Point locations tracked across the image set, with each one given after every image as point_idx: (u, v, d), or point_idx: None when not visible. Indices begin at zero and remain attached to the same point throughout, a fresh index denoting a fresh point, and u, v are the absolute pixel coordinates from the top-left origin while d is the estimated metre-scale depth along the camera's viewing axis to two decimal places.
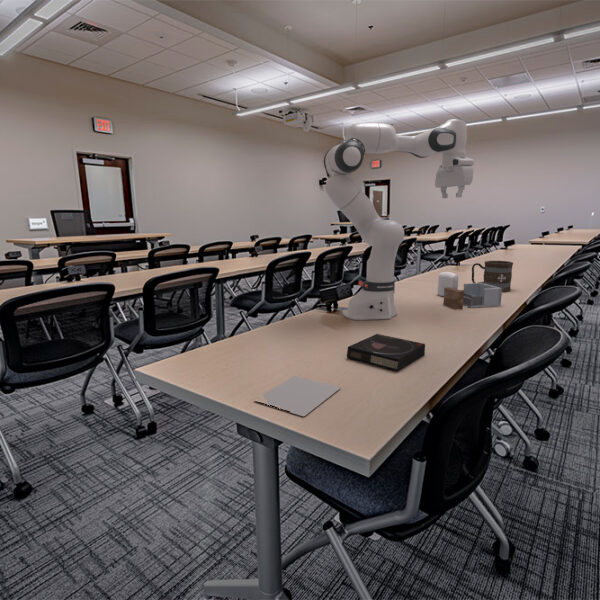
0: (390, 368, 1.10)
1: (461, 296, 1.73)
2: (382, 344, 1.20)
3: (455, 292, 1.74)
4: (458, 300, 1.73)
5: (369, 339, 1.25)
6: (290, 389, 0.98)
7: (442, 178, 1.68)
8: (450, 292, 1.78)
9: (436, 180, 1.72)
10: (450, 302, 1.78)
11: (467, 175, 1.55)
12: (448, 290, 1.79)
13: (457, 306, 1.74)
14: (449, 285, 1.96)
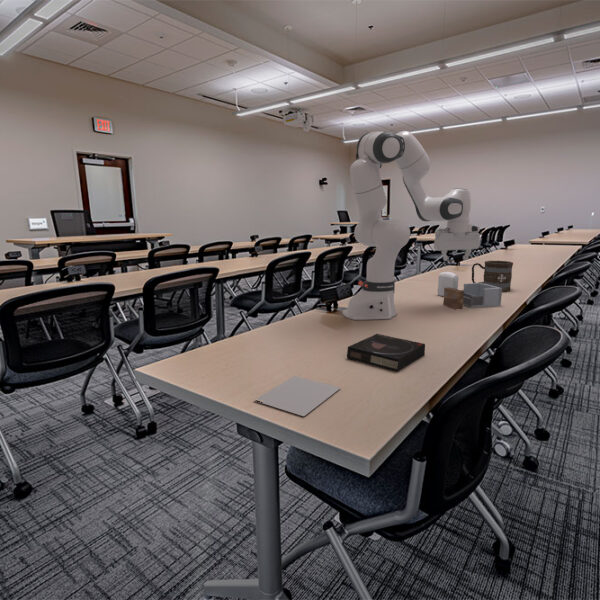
0: (390, 368, 1.10)
1: (461, 296, 1.73)
2: (382, 344, 1.20)
3: (455, 292, 1.74)
4: (458, 300, 1.73)
5: (369, 339, 1.25)
6: (290, 389, 0.98)
7: (450, 242, 1.70)
8: (450, 292, 1.78)
9: (441, 244, 1.70)
10: (450, 302, 1.78)
11: None
12: (448, 290, 1.79)
13: (457, 306, 1.74)
14: (449, 285, 1.96)
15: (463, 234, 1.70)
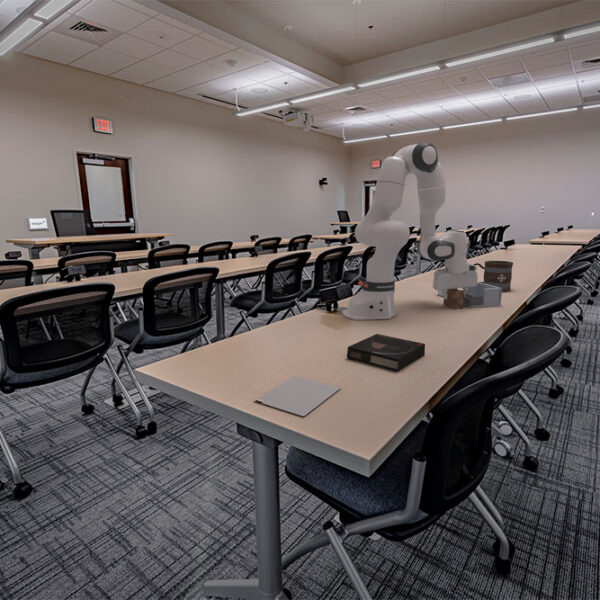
0: (390, 368, 1.10)
1: (461, 296, 1.73)
2: (382, 344, 1.20)
3: (455, 292, 1.74)
4: (458, 300, 1.73)
5: (369, 339, 1.25)
6: (290, 389, 0.98)
7: (448, 281, 1.75)
8: (450, 292, 1.78)
9: (440, 284, 1.74)
10: (450, 302, 1.78)
11: None
12: (448, 290, 1.79)
13: (457, 306, 1.74)
14: None
15: (461, 274, 1.74)
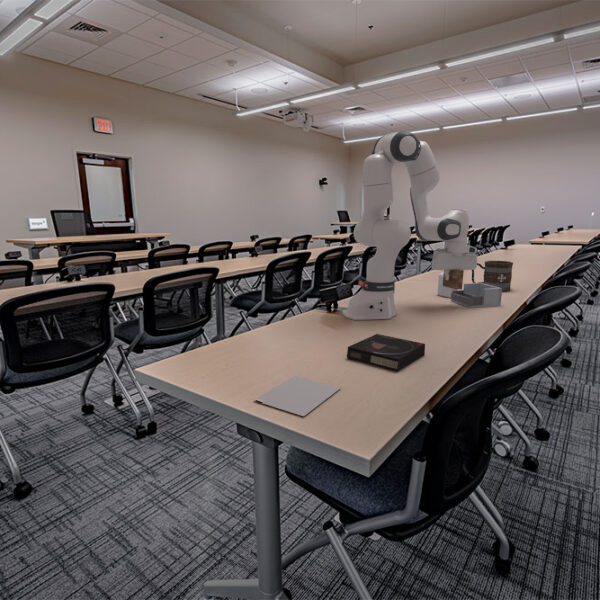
0: (390, 368, 1.10)
1: (461, 275, 1.71)
2: (382, 344, 1.20)
3: (455, 271, 1.72)
4: (458, 279, 1.71)
5: (369, 339, 1.25)
6: (290, 389, 0.98)
7: (447, 262, 1.72)
8: (450, 272, 1.75)
9: (439, 263, 1.71)
10: (450, 282, 1.75)
11: None
12: None
13: (456, 286, 1.72)
14: None
15: (461, 255, 1.72)
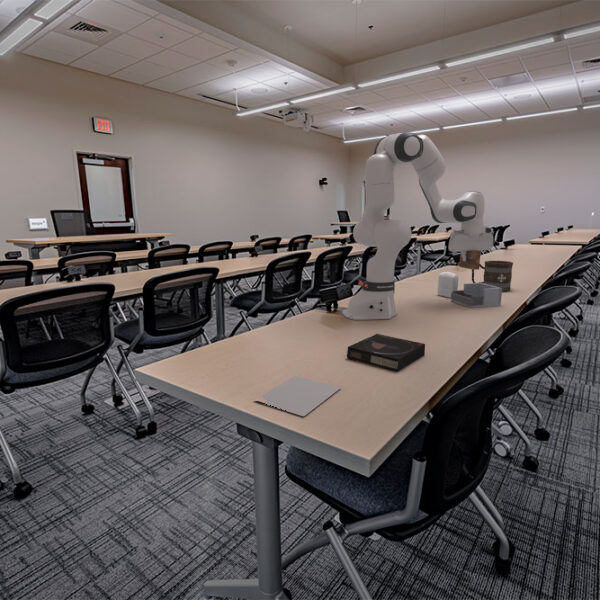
0: (390, 368, 1.10)
1: (478, 256, 1.75)
2: (382, 344, 1.20)
3: (472, 252, 1.75)
4: (475, 260, 1.75)
5: (369, 339, 1.25)
6: (290, 389, 0.98)
7: (464, 243, 1.75)
8: (467, 253, 1.79)
9: (456, 245, 1.75)
10: (467, 263, 1.79)
11: None
12: None
13: (474, 266, 1.75)
14: (449, 285, 1.96)
15: (477, 235, 1.75)
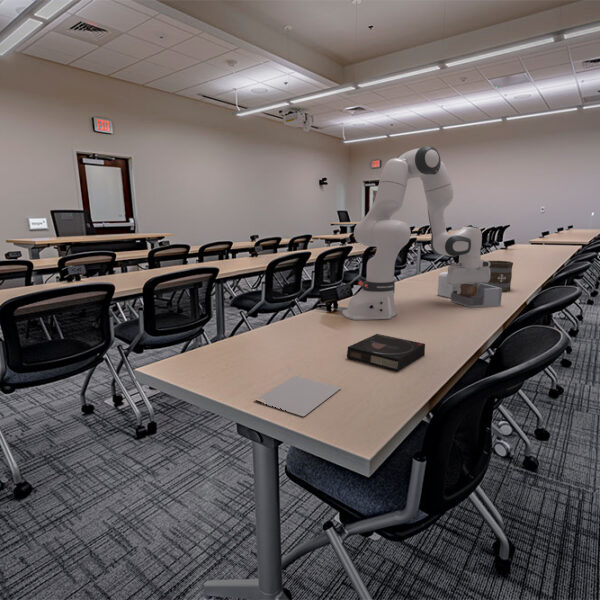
0: (390, 368, 1.10)
1: (475, 291, 1.78)
2: (382, 344, 1.20)
3: (469, 287, 1.78)
4: (472, 295, 1.78)
5: (369, 339, 1.25)
6: (290, 389, 0.98)
7: (462, 276, 1.79)
8: (464, 287, 1.82)
9: (453, 278, 1.78)
10: None
11: None
12: (462, 285, 1.83)
13: None
14: (449, 285, 1.96)
15: (474, 269, 1.78)
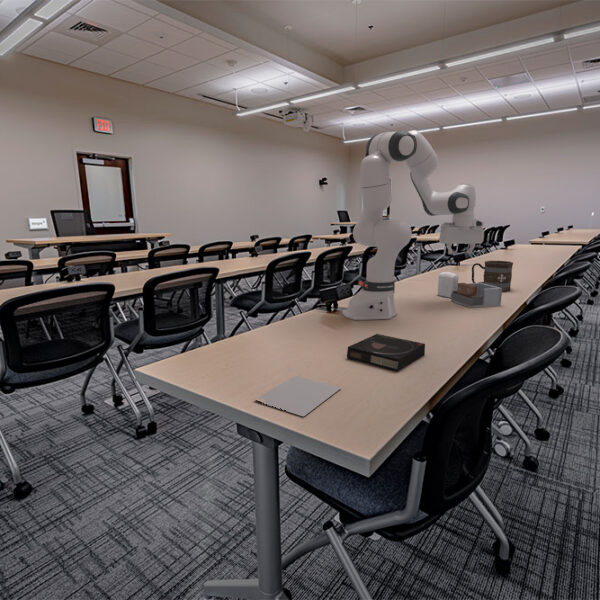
0: (390, 368, 1.10)
1: (475, 291, 1.78)
2: (382, 344, 1.20)
3: (469, 287, 1.78)
4: (472, 295, 1.78)
5: (369, 339, 1.25)
6: (290, 389, 0.98)
7: (454, 235, 1.77)
8: (464, 287, 1.82)
9: (446, 237, 1.76)
10: None
11: None
12: (462, 285, 1.83)
13: None
14: (449, 285, 1.96)
15: (468, 228, 1.76)
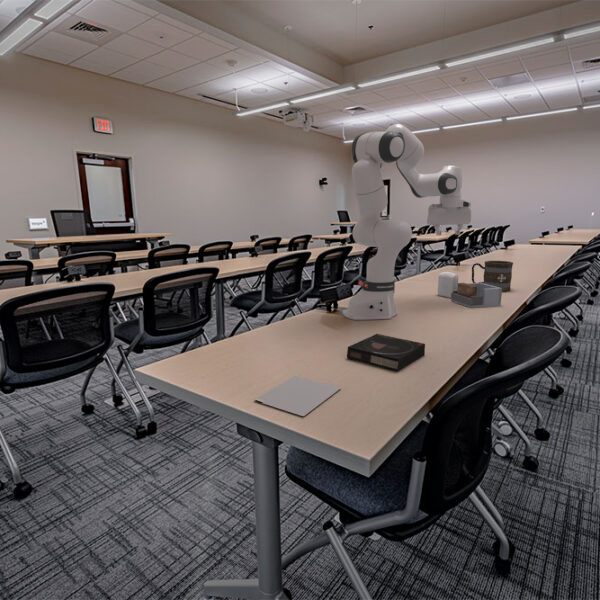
0: (390, 368, 1.10)
1: (475, 291, 1.78)
2: (382, 344, 1.20)
3: (469, 287, 1.78)
4: (472, 295, 1.78)
5: (369, 339, 1.25)
6: (290, 389, 0.98)
7: (442, 217, 1.78)
8: (464, 287, 1.82)
9: (434, 218, 1.77)
10: None
11: None
12: (462, 285, 1.83)
13: None
14: (449, 285, 1.96)
15: (455, 209, 1.77)
